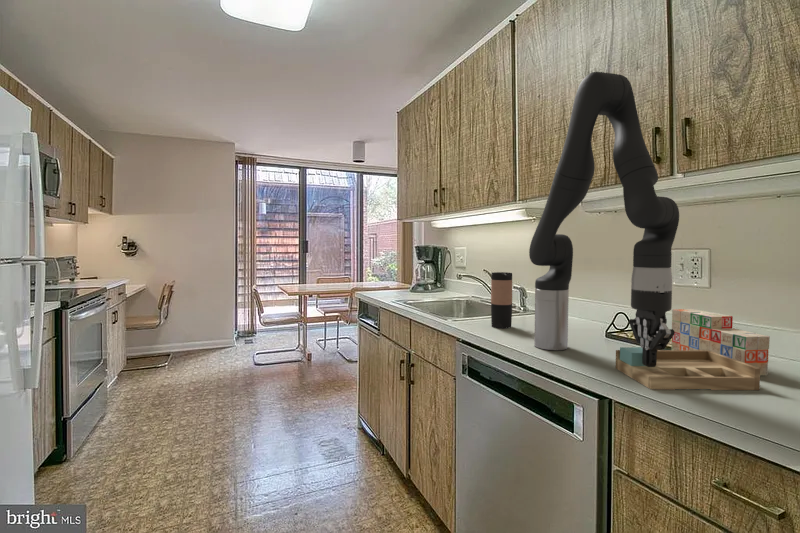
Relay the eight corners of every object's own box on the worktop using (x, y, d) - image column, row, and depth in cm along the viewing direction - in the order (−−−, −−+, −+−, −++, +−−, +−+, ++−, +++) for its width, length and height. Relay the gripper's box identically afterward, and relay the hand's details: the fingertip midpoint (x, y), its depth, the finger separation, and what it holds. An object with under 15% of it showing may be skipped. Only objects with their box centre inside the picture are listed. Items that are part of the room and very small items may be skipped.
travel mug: (493, 323, 150) (493, 272, 149) (513, 325, 146) (514, 272, 145) (488, 327, 143) (489, 273, 142) (509, 329, 139) (510, 273, 138)
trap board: (615, 368, 95) (615, 350, 95) (707, 368, 94) (708, 350, 94) (650, 389, 81) (651, 368, 81) (759, 390, 80) (760, 368, 80)
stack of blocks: (768, 376, 89) (771, 322, 88) (743, 377, 88) (745, 323, 88) (690, 351, 110) (692, 308, 110) (670, 351, 110) (671, 308, 109)
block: (619, 359, 94) (620, 347, 93) (640, 359, 93) (641, 347, 93) (631, 366, 89) (631, 352, 88) (653, 366, 88) (654, 353, 88)
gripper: (617, 285, 92) (616, 357, 93) (652, 291, 79) (650, 375, 80) (650, 285, 92) (648, 357, 93) (690, 291, 78) (687, 375, 79)
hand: (649, 365), depth 86 cm, fingers closed
